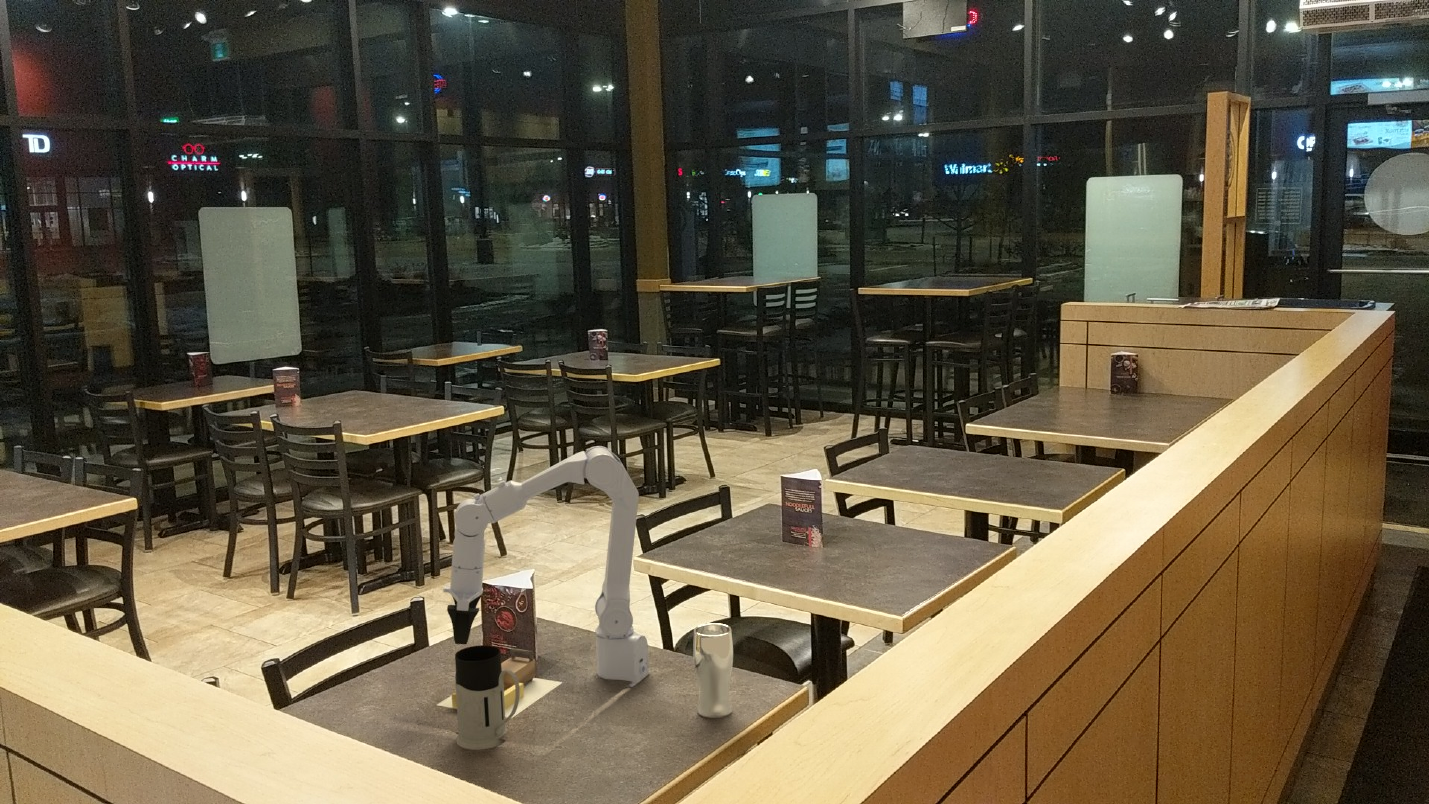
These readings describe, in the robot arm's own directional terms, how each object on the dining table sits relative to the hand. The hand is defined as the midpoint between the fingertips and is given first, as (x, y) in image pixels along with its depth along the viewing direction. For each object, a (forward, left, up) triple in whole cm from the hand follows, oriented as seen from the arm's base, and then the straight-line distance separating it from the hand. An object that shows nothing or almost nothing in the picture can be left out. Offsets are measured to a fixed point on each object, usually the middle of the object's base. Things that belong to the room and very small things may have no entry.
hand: (462, 636), depth 213 cm
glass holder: (-17, +16, -11) cm, 26 cm away
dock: (-8, +1, -11) cm, 13 cm away
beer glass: (-47, -8, -11) cm, 49 cm away
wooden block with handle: (-8, -4, -10) cm, 13 cm away
